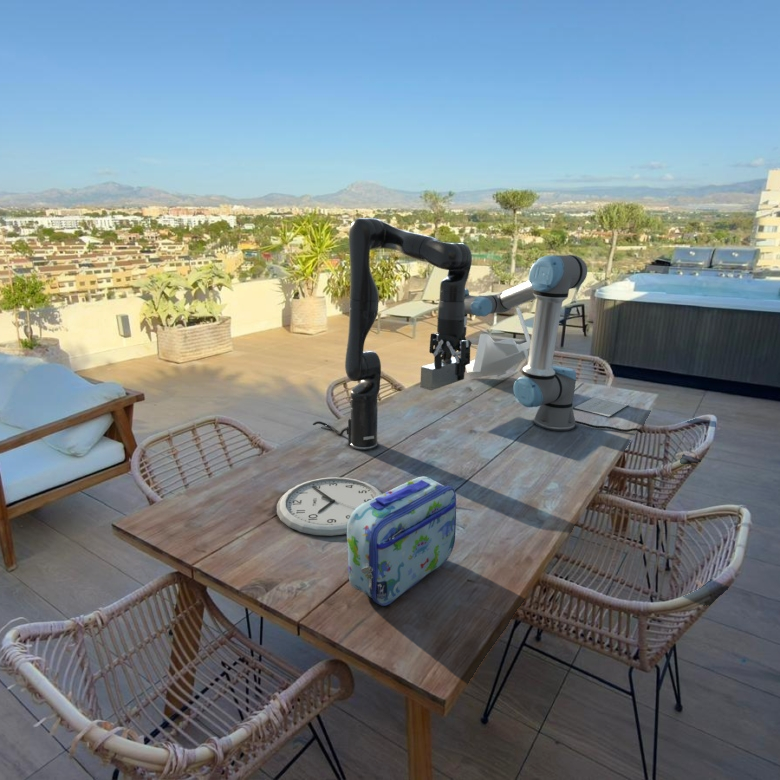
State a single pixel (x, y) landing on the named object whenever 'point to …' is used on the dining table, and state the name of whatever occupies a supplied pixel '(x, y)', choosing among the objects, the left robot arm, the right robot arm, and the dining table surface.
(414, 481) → the lunch box
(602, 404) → the invitation card
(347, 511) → the wall clock
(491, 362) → the white plastic object
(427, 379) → the box
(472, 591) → the dining table surface
